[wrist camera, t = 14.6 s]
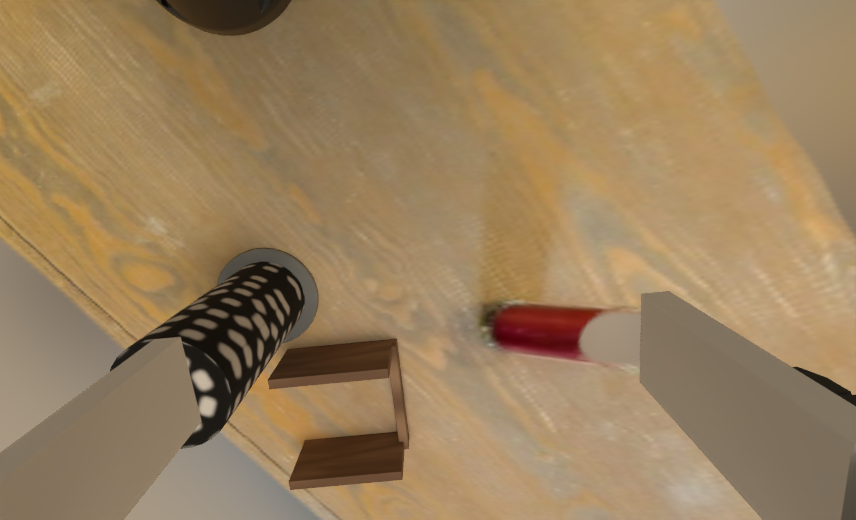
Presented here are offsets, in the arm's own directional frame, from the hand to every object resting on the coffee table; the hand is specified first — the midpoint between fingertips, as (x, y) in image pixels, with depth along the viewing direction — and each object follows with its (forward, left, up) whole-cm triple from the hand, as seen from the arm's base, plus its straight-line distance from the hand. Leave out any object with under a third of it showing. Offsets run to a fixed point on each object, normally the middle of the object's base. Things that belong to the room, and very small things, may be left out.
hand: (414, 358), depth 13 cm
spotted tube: (+9, -18, -36) cm, 41 cm away
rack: (+22, -11, -37) cm, 44 cm away
